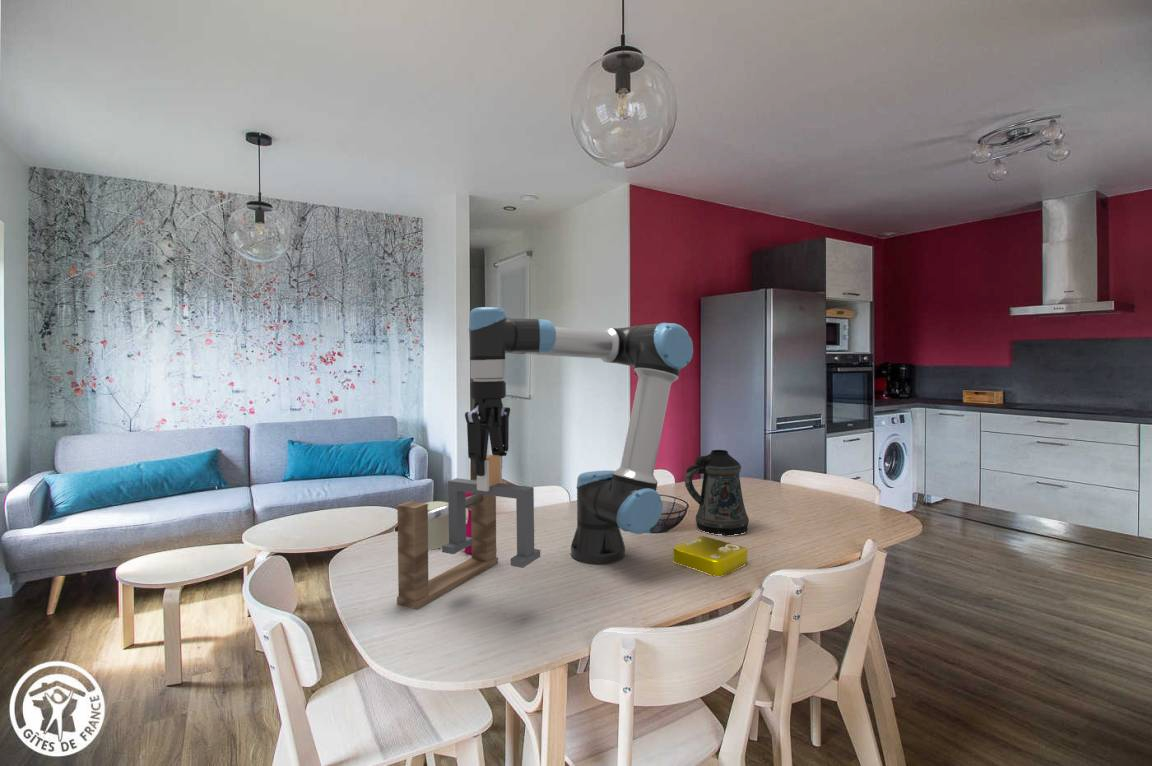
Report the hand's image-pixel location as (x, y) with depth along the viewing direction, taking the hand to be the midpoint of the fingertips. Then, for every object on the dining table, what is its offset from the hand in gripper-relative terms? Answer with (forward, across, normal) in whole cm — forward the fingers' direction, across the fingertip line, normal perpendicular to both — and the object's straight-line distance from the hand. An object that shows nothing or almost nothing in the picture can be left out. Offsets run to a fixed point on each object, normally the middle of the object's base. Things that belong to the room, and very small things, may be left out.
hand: (489, 487), depth 118 cm
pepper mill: (+26, -26, -24) cm, 45 cm away
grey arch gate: (+15, 0, 0) cm, 15 cm away
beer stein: (+27, -78, +33) cm, 88 cm away
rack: (+26, -6, -16) cm, 31 cm away
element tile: (+27, -48, +37) cm, 66 cm away
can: (+26, -26, -38) cm, 53 cm away
